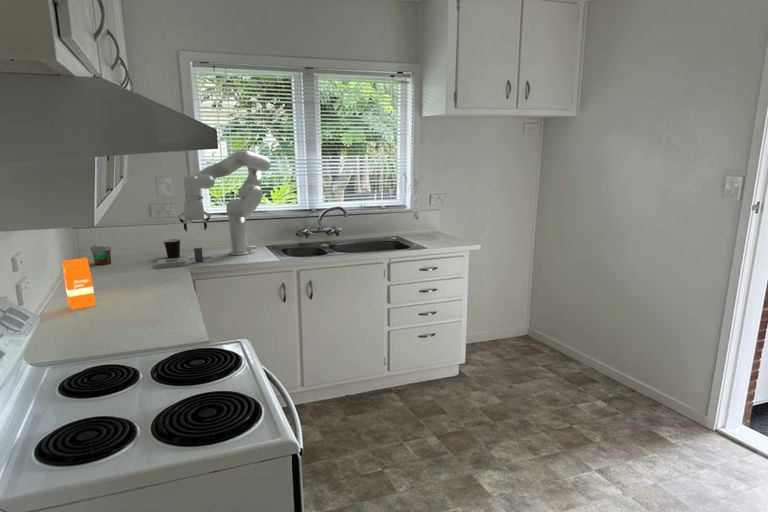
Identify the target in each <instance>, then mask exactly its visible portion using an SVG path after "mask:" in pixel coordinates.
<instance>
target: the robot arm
mask: <svg viewBox="0 0 768 512" xmlns="http://www.w3.org/2000/svg"><path fill="white" fill-rule="evenodd" d="M271 166H272V165H271V160H270V159H269V158H268V157H266V156H264V155H261V154H258V153H255V152H251V151H247V150H245V151H244V150H243V151H242V150H239V151H235V152H233V153H232V154H230V155H229V156H227V157H225V158H223V159H222V160H221V161H219V162H217V163H214V164H212V165H209V166H207V167H204V168H203V169H201V170H200V171H198V172H197V173H195V174H194V175H185V176H184V177H183V188H184V197H185V200H184V203H183V212H182V213H180V214H178V215H177V219H178V220H179V222H180V223H181V224H182V225H183V230H184V231H185V232H187V231H188V224H187V222H188V221H199V220H202V221H203V229H204V231H206V230H207V228H208V224H207V223H208V221H209V220H210V219H211V217H212V213H209V212H207V211H205V209H204V208H205V207H204V204H203V201H202V200H203V199H204V196H202V195H201V194H200V193H201V192H200V191H201V190H200V189H203V190H205V189H207V190H208V189H211V188H213V187H214V185H215V183H216V182H215V181H216V180H215V179H217V178H218V179H219V178H224V177H226V176H230V175H232V173H234V172H236V171H237V170H238V169H240V168H241V167H247V171H248V174H247V177H246V179H245V181H244V182H243V184H241V187H240V188H239V190H238V192H237V196H238V198H239V199H231V200H229V201H228V203H227V204H226V208H225V209H226V214H227V216H228V217H227V218H228V222H229V223H228V224H229V236H230V248H231V250H229V251H228V254H229V255H231V256H244V255H249V254H251V253H252V250H257V245H249V243H248V231H247V230H248V229H247V221H246V218H250V217H251V216H252V215H253V213H255V211H256V209H257V208H258V206H259V204H260V203H261V201H262V199H263V197H264V192H263V190H262V188H261V187H260V186H261V185H262V182H263V176H262V172H267V171H269V170H270V169H271ZM205 215H206V216H207V217H206V218H205ZM183 216H184V219H182V217H183Z"/></svg>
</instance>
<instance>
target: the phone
mask: <svg viewBox="0 0 768 512" xmlns="http://www.w3.org/2000/svg"><path fill="white" fill-rule="evenodd" d="M206 258H209V259H212V256H211V255H203V260H207V259H206ZM193 259H195V256H191V257H190V261H194V260H193Z"/></svg>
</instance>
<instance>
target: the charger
mask: <svg viewBox="0 0 768 512" xmlns="http://www.w3.org/2000/svg"><path fill="white" fill-rule="evenodd" d="M193 253H194V257H195V260H194V261H195V262H201V263H204V259H203V256H204V255H203V247H202V246H194V247H193Z"/></svg>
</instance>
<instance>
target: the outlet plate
mask: <svg viewBox="0 0 768 512" xmlns="http://www.w3.org/2000/svg"><path fill="white" fill-rule="evenodd" d="M186 263H187V261H186V257H179V258H174V259H168V258H165V259H157V262H156V268H157V269H167V268H176V267H177V268H179V267H186V266H187V264H186ZM185 265H186V266H185ZM178 266H179V267H178Z"/></svg>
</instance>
